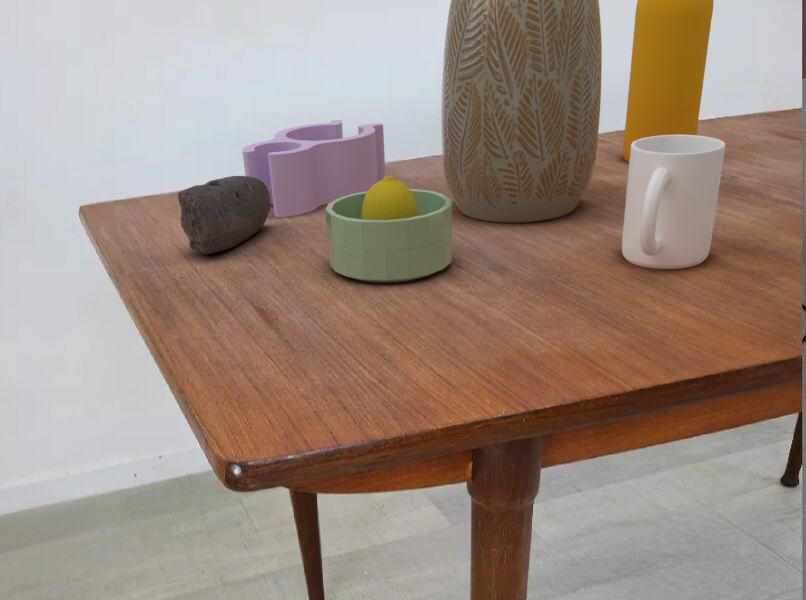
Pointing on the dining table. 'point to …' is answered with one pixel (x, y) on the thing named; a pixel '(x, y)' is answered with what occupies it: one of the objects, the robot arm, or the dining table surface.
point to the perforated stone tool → (223, 212)
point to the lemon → (389, 201)
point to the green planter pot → (390, 239)
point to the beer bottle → (667, 68)
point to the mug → (671, 200)
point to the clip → (316, 165)
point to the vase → (520, 106)
